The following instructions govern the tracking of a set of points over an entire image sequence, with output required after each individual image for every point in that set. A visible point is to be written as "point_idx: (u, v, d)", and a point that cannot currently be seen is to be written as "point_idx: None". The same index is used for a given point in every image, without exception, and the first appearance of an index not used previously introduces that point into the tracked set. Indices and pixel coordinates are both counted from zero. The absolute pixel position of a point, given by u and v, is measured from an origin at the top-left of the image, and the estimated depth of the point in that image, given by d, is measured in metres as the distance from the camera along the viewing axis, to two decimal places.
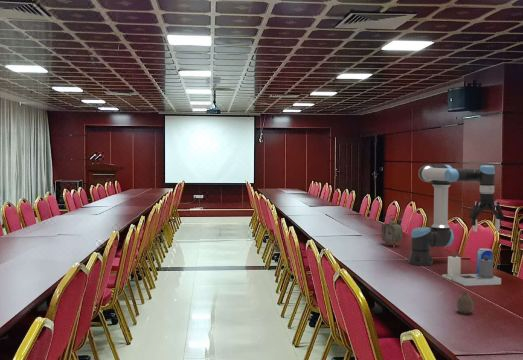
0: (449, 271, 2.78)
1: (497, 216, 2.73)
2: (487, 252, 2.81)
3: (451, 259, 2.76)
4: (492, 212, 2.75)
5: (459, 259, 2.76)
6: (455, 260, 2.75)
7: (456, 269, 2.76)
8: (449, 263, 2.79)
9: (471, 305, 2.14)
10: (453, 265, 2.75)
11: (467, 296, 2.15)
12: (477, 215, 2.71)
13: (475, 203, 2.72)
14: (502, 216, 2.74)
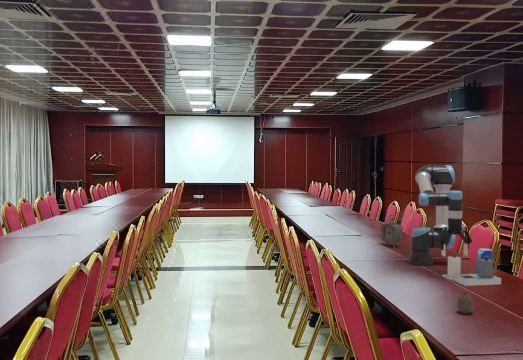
0: (449, 271, 2.78)
1: (465, 241, 2.77)
2: (487, 252, 2.81)
3: (451, 259, 2.76)
4: None
5: (459, 259, 2.76)
6: (455, 260, 2.75)
7: (456, 269, 2.76)
8: (449, 263, 2.79)
9: (471, 305, 2.14)
10: (453, 265, 2.75)
11: (467, 296, 2.15)
12: (445, 240, 2.75)
13: (443, 228, 2.76)
14: (470, 241, 2.78)
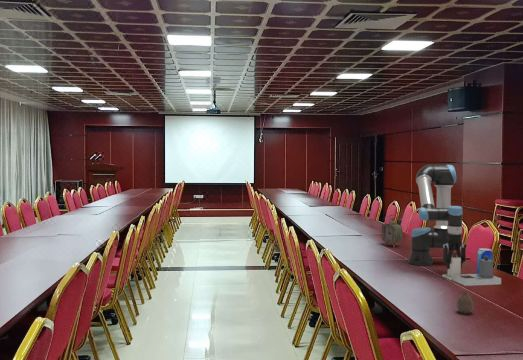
0: None
1: None
2: (487, 252, 2.81)
3: (451, 259, 2.76)
4: (456, 253, 2.79)
5: (459, 259, 2.76)
6: (455, 260, 2.75)
7: (456, 269, 2.76)
8: None
9: (471, 305, 2.14)
10: (453, 265, 2.75)
11: (467, 296, 2.15)
12: (450, 258, 2.76)
13: (443, 246, 2.76)
14: (463, 259, 2.78)
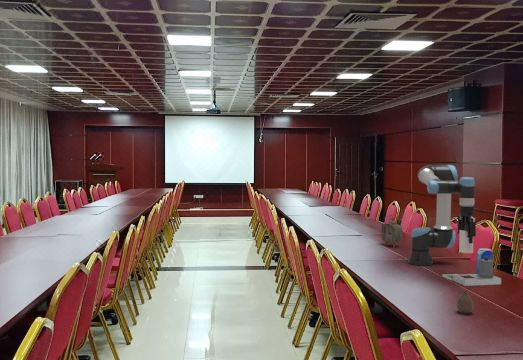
0: None
1: (468, 232, 2.64)
2: (487, 252, 2.81)
3: None
4: None
5: (464, 232, 2.65)
6: (461, 232, 2.67)
7: (462, 242, 2.67)
8: None
9: (471, 305, 2.14)
10: (460, 237, 2.69)
11: (467, 296, 2.15)
12: None
13: None
14: (470, 234, 2.62)
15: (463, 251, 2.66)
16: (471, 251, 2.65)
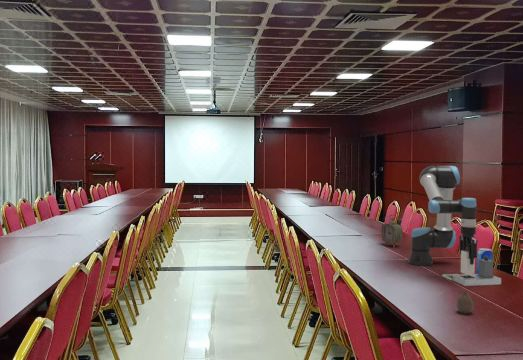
0: None
1: (469, 253, 2.63)
2: (487, 252, 2.81)
3: None
4: None
5: (465, 253, 2.64)
6: (462, 253, 2.67)
7: (463, 263, 2.66)
8: None
9: (471, 305, 2.14)
10: (461, 257, 2.68)
11: (467, 296, 2.15)
12: None
13: None
14: (471, 255, 2.61)
15: (464, 272, 2.65)
16: (472, 272, 2.64)
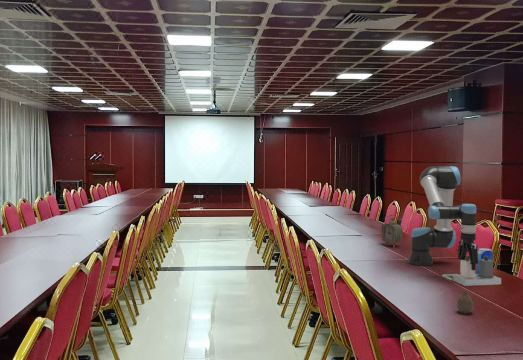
0: None
1: (470, 259, 2.62)
2: (487, 252, 2.81)
3: None
4: None
5: (465, 263, 2.65)
6: (462, 263, 2.67)
7: (463, 272, 2.66)
8: None
9: (471, 305, 2.14)
10: (461, 267, 2.68)
11: (467, 296, 2.15)
12: (461, 255, 2.71)
13: None
14: (473, 261, 2.60)
15: None
16: None
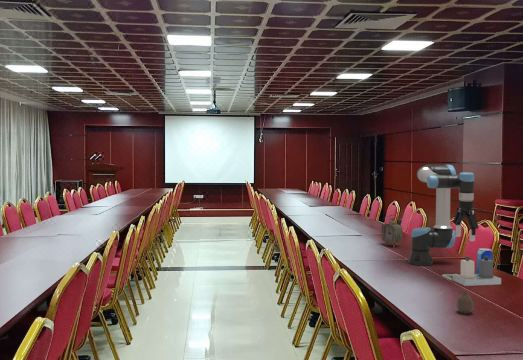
0: None
1: (470, 225, 2.64)
2: (487, 252, 2.81)
3: None
4: None
5: (465, 263, 2.65)
6: (462, 263, 2.67)
7: (463, 272, 2.66)
8: None
9: (471, 305, 2.14)
10: (461, 267, 2.68)
11: (467, 296, 2.15)
12: (457, 221, 2.76)
13: None
14: (473, 226, 2.61)
15: None
16: None
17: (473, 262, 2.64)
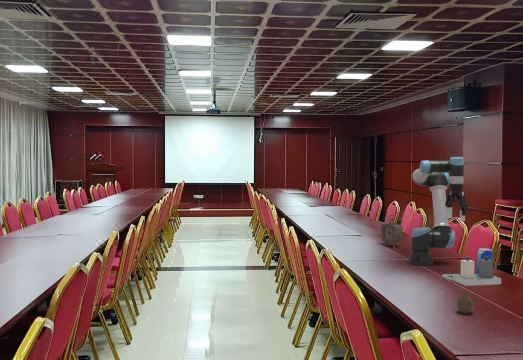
0: None
1: (460, 206, 2.80)
2: (487, 252, 2.81)
3: None
4: None
5: (465, 263, 2.65)
6: (462, 263, 2.67)
7: (463, 272, 2.66)
8: None
9: (471, 305, 2.14)
10: (461, 267, 2.68)
11: (467, 296, 2.15)
12: (448, 203, 2.92)
13: None
14: (463, 207, 2.77)
15: None
16: None
17: (473, 262, 2.64)
